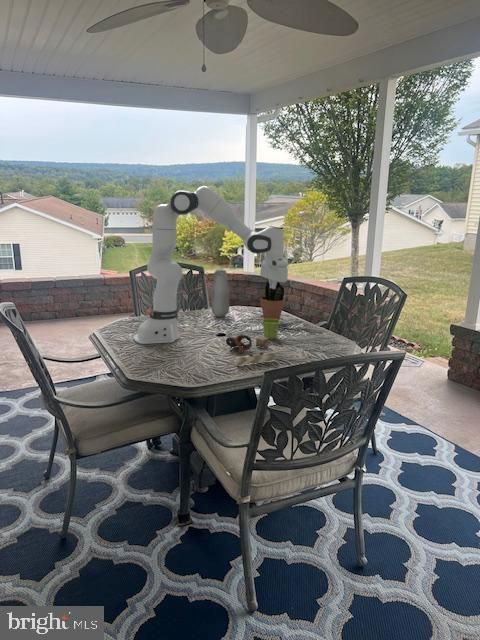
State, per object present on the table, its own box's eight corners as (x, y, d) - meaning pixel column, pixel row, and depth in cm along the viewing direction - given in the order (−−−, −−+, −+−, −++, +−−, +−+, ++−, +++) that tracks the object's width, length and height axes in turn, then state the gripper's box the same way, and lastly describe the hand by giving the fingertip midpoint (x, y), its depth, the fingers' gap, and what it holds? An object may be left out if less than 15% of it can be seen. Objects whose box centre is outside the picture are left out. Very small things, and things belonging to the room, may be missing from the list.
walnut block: (262, 348, 213) (262, 340, 212) (255, 346, 216) (256, 338, 215) (267, 346, 216) (268, 338, 215) (261, 344, 218) (261, 336, 217)
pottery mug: (248, 347, 215) (253, 335, 210) (247, 361, 208) (252, 349, 203) (224, 340, 214) (228, 328, 208) (222, 355, 207) (226, 342, 201)
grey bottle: (219, 313, 274) (219, 267, 267) (232, 316, 268) (233, 269, 261) (208, 316, 267) (208, 269, 260) (220, 319, 261) (221, 271, 253)
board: (237, 367, 188) (238, 356, 186) (235, 365, 189) (236, 355, 188) (275, 361, 195) (275, 351, 194) (273, 360, 197) (273, 350, 196)
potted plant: (257, 322, 257) (258, 278, 251) (262, 316, 270) (264, 275, 263) (280, 324, 253) (283, 280, 247) (285, 319, 266) (287, 276, 259)
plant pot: (257, 338, 228) (258, 321, 226) (265, 333, 236) (266, 317, 234) (275, 341, 224) (275, 324, 222) (282, 336, 232) (283, 320, 230)
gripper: (257, 258, 227) (256, 285, 231) (279, 263, 210) (277, 292, 213) (268, 257, 230) (267, 284, 234) (290, 262, 213) (289, 291, 216)
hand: (272, 288), depth 223 cm, fingers closed
